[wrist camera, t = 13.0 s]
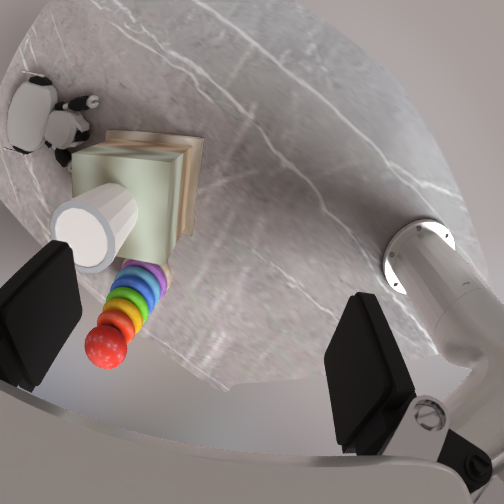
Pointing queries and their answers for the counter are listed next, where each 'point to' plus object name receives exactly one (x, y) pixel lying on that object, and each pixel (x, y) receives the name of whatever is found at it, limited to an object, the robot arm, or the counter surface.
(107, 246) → the shot glass
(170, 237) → the patterned box
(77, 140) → the robot toy
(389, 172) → the counter surface
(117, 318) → the stacking toy
